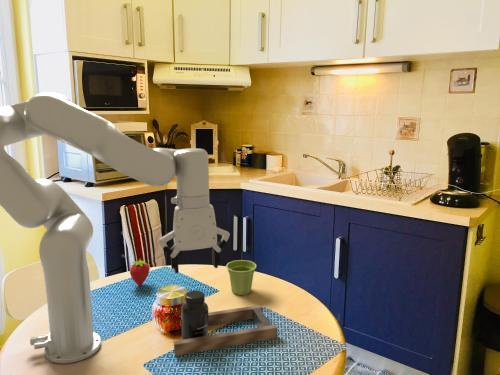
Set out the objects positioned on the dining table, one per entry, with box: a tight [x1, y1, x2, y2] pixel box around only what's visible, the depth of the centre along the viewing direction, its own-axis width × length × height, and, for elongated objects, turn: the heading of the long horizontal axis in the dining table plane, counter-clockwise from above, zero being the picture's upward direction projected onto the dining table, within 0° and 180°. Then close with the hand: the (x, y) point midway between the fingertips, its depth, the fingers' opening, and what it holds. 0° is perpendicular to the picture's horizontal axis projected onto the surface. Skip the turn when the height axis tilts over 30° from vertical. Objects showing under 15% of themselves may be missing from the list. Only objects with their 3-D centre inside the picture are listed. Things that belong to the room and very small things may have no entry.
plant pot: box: [225, 259, 257, 296], centre depth 134 cm, size 9×9×9 cm
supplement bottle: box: [180, 289, 209, 340], centre depth 107 cm, size 7×7×12 cm
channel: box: [173, 304, 278, 357], centre depth 110 cm, size 26×12×3 cm, turn 108°
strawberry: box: [129, 259, 150, 287], centre depth 136 cm, size 6×8×10 cm
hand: (195, 268), depth 104 cm, fingers open, 9 cm apart
